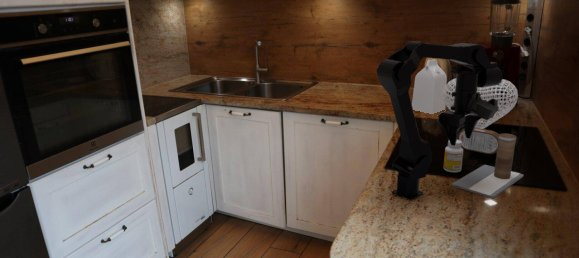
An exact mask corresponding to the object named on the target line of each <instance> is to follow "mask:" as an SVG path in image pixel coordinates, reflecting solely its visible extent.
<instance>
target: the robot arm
mask: <svg viewBox="0 0 579 258" xmlns="http://www.w3.org/2000/svg"><path fill="white" fill-rule="evenodd" d="M424 58H425V59H428V58H429V59H436V60H438V59H439V60H449V61H451V62H454V63H457V64H456V66H455V67H454V68H453V69H451V70H450V73H451V74H454V75H456V87H454V88H455V92H452V94H451V95H452V97H453V96H454V105H453V106H451V105H450V106H451V109H450V110H454V111H450V110H449V109H448V110H447V109H446V110H445V111H444V112H441V113H440V114H439V115H437V122H438V123H439V124H440V125H442V128H443V129H444V131H445V134H446V135H447V139H448V141H450V144H451V145H453V146H455V144H456V141H457V140H458V134H459V133H460V129H461V128H463V129H464V130H465V135H466V138H468V139H469V138H471V135H472V133H473V131H474V128H475V126H476V124H478V122H479V120H480V119H485V120H489V119H490V118H493V117H494V114H495V113H496V112H497V111H498V109H499V107H498V99H497V100H496V99H490V100H488V101H487V100H482V99H483V98H481V97H480V96H481V95H482V93H481V94H480V92H477V91H478V90H477V88H479V87H481V88H482V87H483V88H484V87H485V88H486V87H489V86H490V87H491V86H496V85H498V86H499V84H500V83H501V81H502V79H503V77H504V76H503V73H502V70H501V69H500V67H498V66H499V63H498V62H495V61H494V62H493V61H490V58H489V56H488V55H487V52H486V50H485V46H484V45H482V44H478V43H466V42H460V43H454V44H450V45H446V44H435V43H425V42H421V41H409V42H407V43H406V44H405V45H404V46H403V47H401V48H400V49H399V50H397V51H395V52H394V53H392V54H390V55H389V56H388V57H387V58H385V59H384V60H382V61H381V62H380V63H379V64H378V67H377V68H376V76H377V79H378V81H379V82H380V84H381V86H382V87H383V89H384V90H385V92H387V94H388V95H389V98H390V101H391V105H392V109H393V113H394V116H395V120H396V124H397V127H398V130H399V131H398V132H399V135H400V138H401V142H400V145H399V146H398V147H399V148H398V150H399V154H398V155H397V156H396V158H395V159H394V160H393V161H392V162H391V167H392V170H393V171H395V172H398V173H397V178H396V179H397V181H396V189H394V190H392V191H391V194H393V195H394V196H395V195H396V196H398V197H400V198H403V199H406V200H409V201H414V199H416V198H418V197H420V196H422V195H423V194H424V191H422V190H419V189H420V179H424V178H426V176H427V174H428V171H429V168H430V166H431V163H432V162H433V161H432V159H433V157H432V156H434V153H433V152H432V149H431V148H432V147H431V143H430V142H429V141H427V140H424V139H422V138H421V135H420V133H419V128H418V124H417V120H416V116H415V114H414V112H413V108H412V99H411V96H410V89H411V85H412V83H413V82H412V81H413V80H412V75H413V74H414V73H415V72H416V71H417V70H418V68H419V66H420V63H421V61H422V60H423V59H424ZM498 112H499V111H498ZM498 112H497V113H498ZM485 120H484V121H485ZM480 121H481V120H480Z"/></svg>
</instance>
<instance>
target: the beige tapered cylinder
mask: <svg viewBox="0 0 579 258" xmlns="http://www.w3.org/2000/svg"><path fill="white" fill-rule="evenodd" d="M498 134H499V141H498V148H497V152H496V156H495V163H494V167H495V170H494V176H495V177H497V178H500V179H509V178H510V176H511V171H512V169H513V162H514V161H513V160H514V155H515V148H516V147H515V146H516V142H517V136H516V135H515V134H513V133H512V134H511V133H498Z"/></svg>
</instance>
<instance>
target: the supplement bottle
mask: <svg viewBox="0 0 579 258" xmlns="http://www.w3.org/2000/svg"><path fill="white" fill-rule="evenodd" d="M461 145H462V141H460V140H458V139H457V141H456V144H455V146H453V145H451V144H450V141H449V140H448V142H447V146H446V147H445V150H444V158H443V169H444V170H445V172H449V173H459V172H461V171H462V166H463V157H464V148H463V147H462V146H461Z"/></svg>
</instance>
